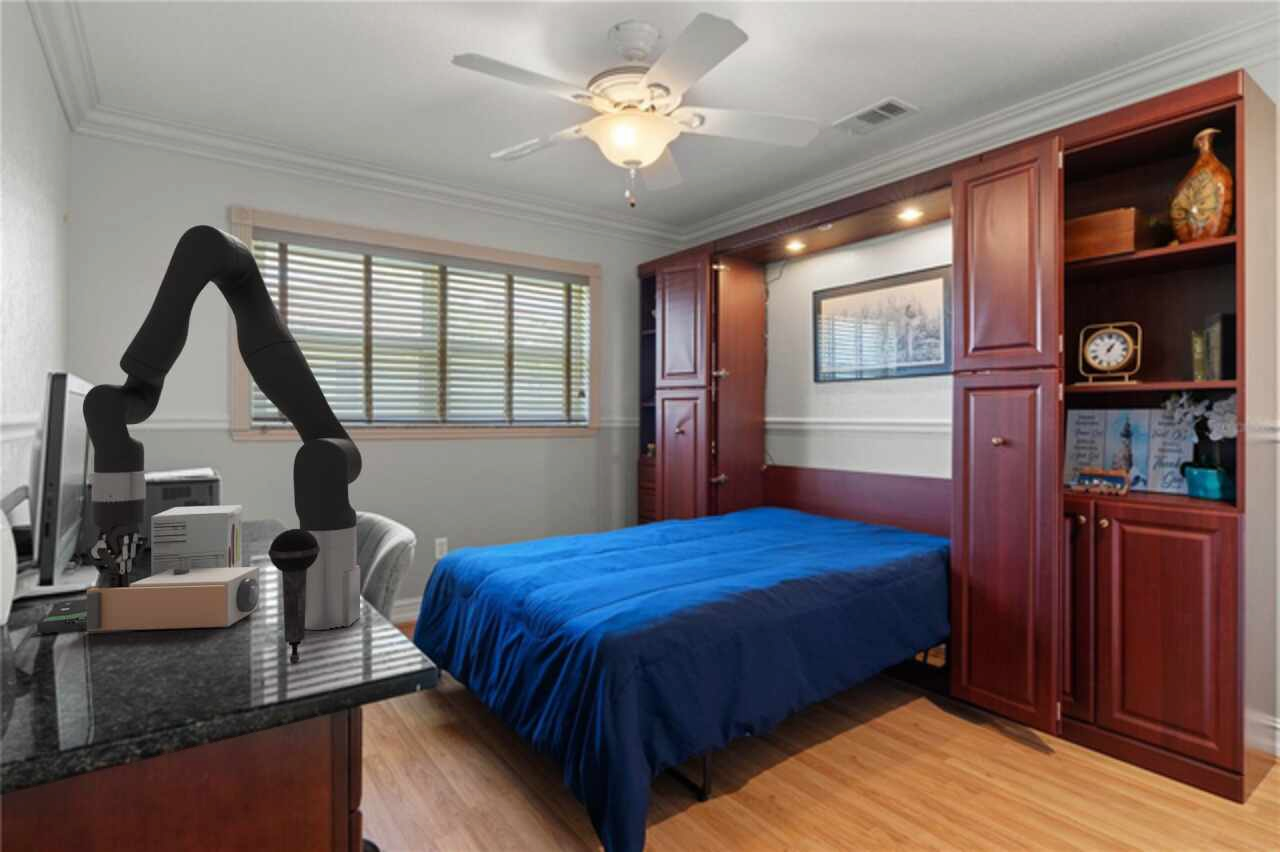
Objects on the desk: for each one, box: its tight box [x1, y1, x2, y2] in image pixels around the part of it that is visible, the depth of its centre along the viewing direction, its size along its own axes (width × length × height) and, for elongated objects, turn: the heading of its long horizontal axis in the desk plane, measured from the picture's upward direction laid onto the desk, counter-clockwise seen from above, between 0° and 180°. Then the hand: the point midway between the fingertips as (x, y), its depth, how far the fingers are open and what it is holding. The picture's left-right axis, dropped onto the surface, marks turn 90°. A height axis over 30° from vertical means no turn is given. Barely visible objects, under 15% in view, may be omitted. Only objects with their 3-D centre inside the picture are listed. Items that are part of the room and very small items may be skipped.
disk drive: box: [36, 600, 87, 634], centre depth 120 cm, size 10×3×15 cm
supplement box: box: [150, 504, 243, 577], centre depth 137 cm, size 17×13×18 cm
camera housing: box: [129, 566, 260, 631], centre depth 120 cm, size 18×12×9 cm
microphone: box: [267, 528, 320, 664], centre depth 98 cm, size 7×7×20 cm
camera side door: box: [86, 585, 227, 632], centre depth 113 cm, size 22×2×7 cm, turn 97°
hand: (118, 594), depth 116 cm, fingers closed
